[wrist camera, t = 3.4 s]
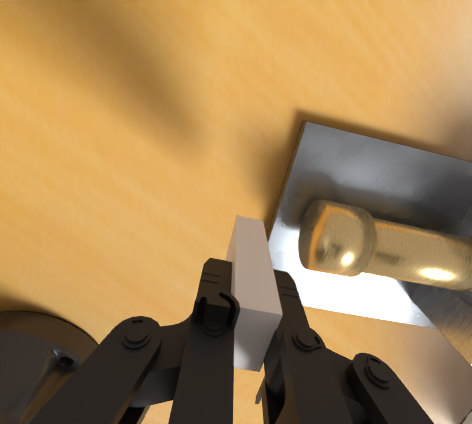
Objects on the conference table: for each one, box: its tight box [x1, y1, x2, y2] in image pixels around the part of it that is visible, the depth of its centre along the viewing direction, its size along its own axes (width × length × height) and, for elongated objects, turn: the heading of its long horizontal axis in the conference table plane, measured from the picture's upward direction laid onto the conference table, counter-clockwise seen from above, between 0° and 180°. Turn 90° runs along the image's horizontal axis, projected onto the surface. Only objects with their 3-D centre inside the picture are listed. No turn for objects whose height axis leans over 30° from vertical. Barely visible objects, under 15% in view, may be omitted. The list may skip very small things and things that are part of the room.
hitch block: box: [267, 121, 472, 365], centre depth 19 cm, size 28×16×8 cm, turn 77°
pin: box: [298, 199, 472, 293], centre depth 18 cm, size 15×5×5 cm, turn 77°
